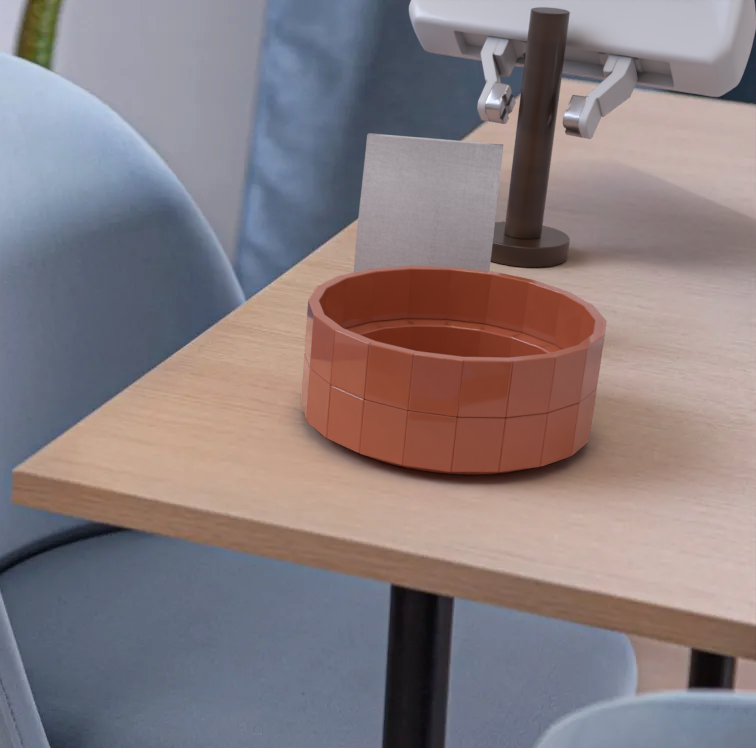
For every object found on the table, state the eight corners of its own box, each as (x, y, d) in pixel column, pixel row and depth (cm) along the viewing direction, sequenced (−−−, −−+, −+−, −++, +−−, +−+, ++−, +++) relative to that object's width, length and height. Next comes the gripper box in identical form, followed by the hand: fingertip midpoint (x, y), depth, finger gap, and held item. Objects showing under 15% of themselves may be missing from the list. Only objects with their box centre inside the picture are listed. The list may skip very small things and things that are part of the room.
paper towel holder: (535, 237, 109) (565, 1, 103) (585, 264, 105) (620, 18, 98) (456, 243, 107) (482, 2, 101) (504, 270, 102) (534, 20, 96)
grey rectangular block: (480, 348, 90) (502, 154, 86) (348, 336, 91) (364, 142, 86) (481, 325, 93) (503, 137, 89) (354, 313, 94) (370, 126, 90)
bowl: (494, 363, 88) (507, 257, 86) (646, 464, 77) (665, 345, 75) (256, 389, 83) (263, 277, 81) (382, 499, 72) (394, 373, 70)
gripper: (447, -121, 107) (358, 64, 104) (780, -86, 98) (695, 118, 95) (470, -51, 113) (386, 127, 109) (788, -12, 103) (707, 184, 100)
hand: (532, 124), depth 102 cm, fingers open, 4 cm apart
